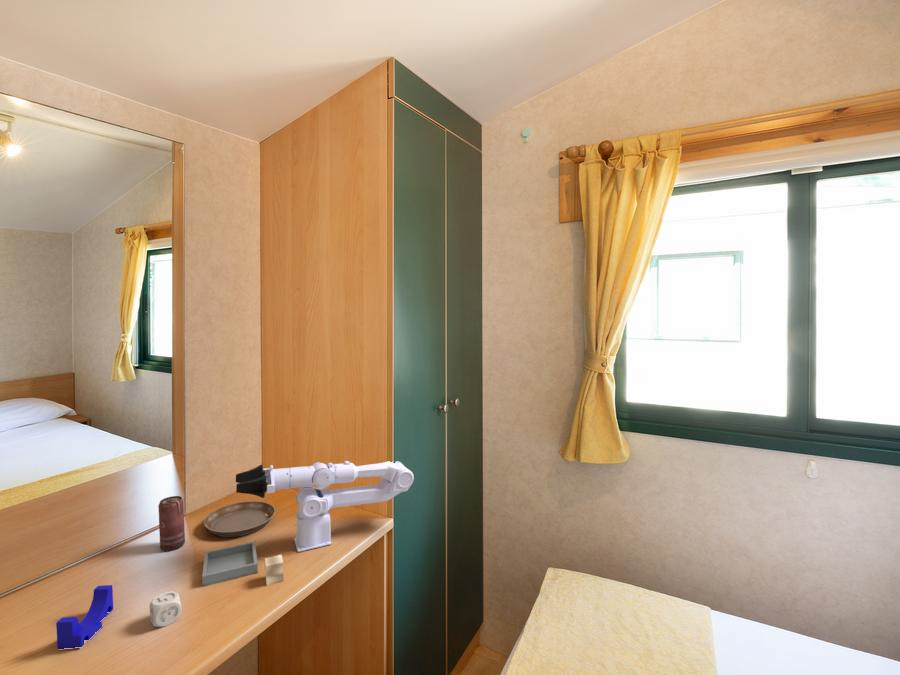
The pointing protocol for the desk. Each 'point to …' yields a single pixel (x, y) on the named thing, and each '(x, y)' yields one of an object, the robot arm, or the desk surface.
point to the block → (274, 569)
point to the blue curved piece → (85, 620)
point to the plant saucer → (239, 518)
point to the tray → (229, 563)
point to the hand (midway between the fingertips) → (236, 483)
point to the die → (165, 609)
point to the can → (171, 523)
